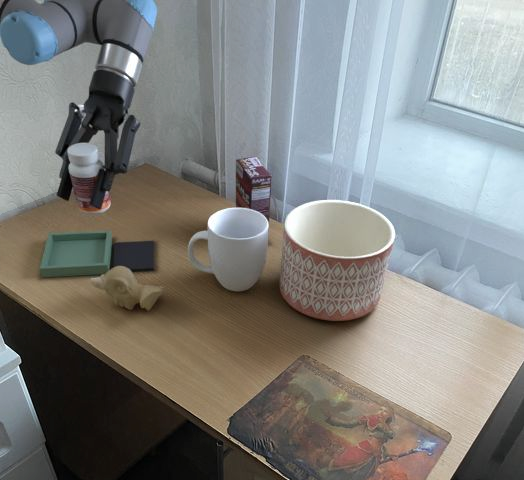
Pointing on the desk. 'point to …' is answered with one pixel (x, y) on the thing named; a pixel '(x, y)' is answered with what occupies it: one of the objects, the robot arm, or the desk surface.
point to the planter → (335, 259)
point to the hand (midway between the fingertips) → (78, 202)
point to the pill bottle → (85, 176)
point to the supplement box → (253, 186)
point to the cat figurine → (127, 288)
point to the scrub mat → (134, 255)
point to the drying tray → (76, 254)
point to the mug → (234, 247)
